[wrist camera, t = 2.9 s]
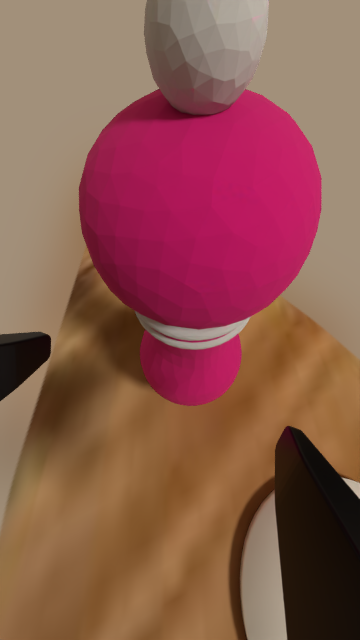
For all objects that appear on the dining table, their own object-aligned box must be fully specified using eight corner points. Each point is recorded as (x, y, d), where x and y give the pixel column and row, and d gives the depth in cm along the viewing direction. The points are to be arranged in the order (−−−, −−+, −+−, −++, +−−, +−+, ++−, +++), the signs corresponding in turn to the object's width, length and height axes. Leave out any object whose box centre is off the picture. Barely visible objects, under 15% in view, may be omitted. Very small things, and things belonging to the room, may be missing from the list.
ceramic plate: (529, 812, 11) (553, 839, 10) (249, 780, 11) (254, 804, 10) (414, 478, 16) (424, 481, 16) (233, 468, 17) (235, 470, 16)
